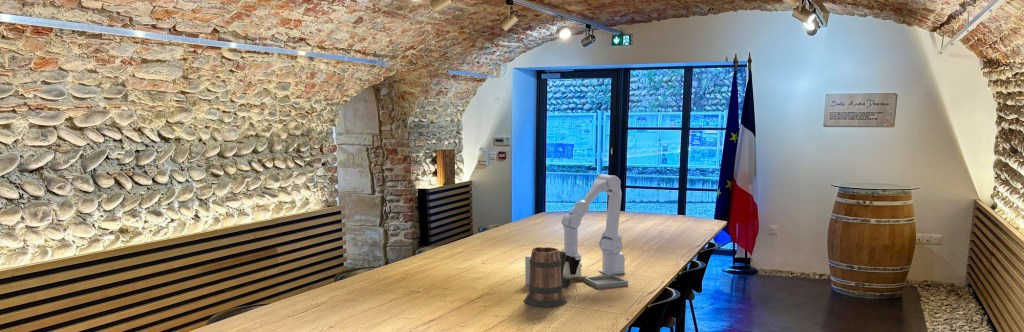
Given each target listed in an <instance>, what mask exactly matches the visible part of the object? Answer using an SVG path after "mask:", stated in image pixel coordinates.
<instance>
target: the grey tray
mask: <svg viewBox="0 0 1024 332" xmlns="http://www.w3.org/2000/svg"><path fill="white" fill-rule="evenodd" d="M583 282H584V284H586V285H589V286H591V287H593V288H595V289H596V290H605V288H606V289H611V288H621V287H622V286H623V287H629V281H628V280H626V279H624V278H622V277H620V276H617V275H616V274H611V275H606V274H604V275H596V276H595V275H594V276H587V277H585V278H584V281H583Z"/></svg>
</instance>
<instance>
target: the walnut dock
mask: <svg viewBox="0 0 1024 332" xmlns="http://www.w3.org/2000/svg"><path fill="white" fill-rule="evenodd" d="M585 277H588V276H587V275H581V276H579V277H570V280H571V283H570V284H572V283H580V282H584V278H585Z"/></svg>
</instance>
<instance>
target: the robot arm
mask: <svg viewBox="0 0 1024 332" xmlns="http://www.w3.org/2000/svg"><path fill="white" fill-rule="evenodd" d="M621 183H622V181H621V179H620V178H619V177H618V176H617V175H611V174H610V175H609V174H604V173H601V174H598V175H597V177H596V178H595V179H594V180H593V184H592V185H591V187H590V188H589V191H588V192H587V193H586V194H585V196H584V197H583V199H581V200H578V201H576V202H575V203H574V204H575V205H574V206H573V207H572V209H571V210H569V213H566V214H565V215H564V216H562V220H561V225H562V226H563V230H564V231H563V234H564V235H563V244H564V245H563V247H564V248H561V250H560V251H563V252H565V253H566V262H569V266H570V273H571V275H575V274H576V271H577V267H578V265H579V263H581V261H582V258H581V257H582V255H580V253H579V249H578V244H579V243H578V242H579V240H578V239H579V238H578V235H579V234H578V232H579V231H578V229H579V227H580V226H581V225H582V219H583V217H584V216H585V215H586V214H587V212H588V211H589V210H590V204H591V203H592V202H593V201H594V200H595V199H596V198H597V196H598V195H600V193H604V192H605V194H607V195H608V203H607V211H606V212H607V213H606V220H605V221H606V222H605V223H606V224H605V230H604V231H603V233H601V237H600V239H599V242H598V246H599V248H600V250H601V252H602V266H601V267H602V269H598V272H599V273H602V274H604V275H619V274H626V271H625V266H626V265H625V262H626V261H625V259H626V258H625V254H624V253H623V252H621V251H622V250H623V241H622V236H621V234H620V233H619V225H620V224H619V223H620V215H621V214H620V213H621V206H622V205H621V204H622V195H623V193H622V189H621Z"/></svg>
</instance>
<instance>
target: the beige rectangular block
mask: <svg viewBox="0 0 1024 332" xmlns="http://www.w3.org/2000/svg"><path fill="white" fill-rule="evenodd" d="M582 267H583V265H582V262H580V263H579V265H578V267H577V271H576V274H575V275H571V273H570V266H569V262H565V266H564V270H563V277H567V278H570V277H579V276H582Z"/></svg>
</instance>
